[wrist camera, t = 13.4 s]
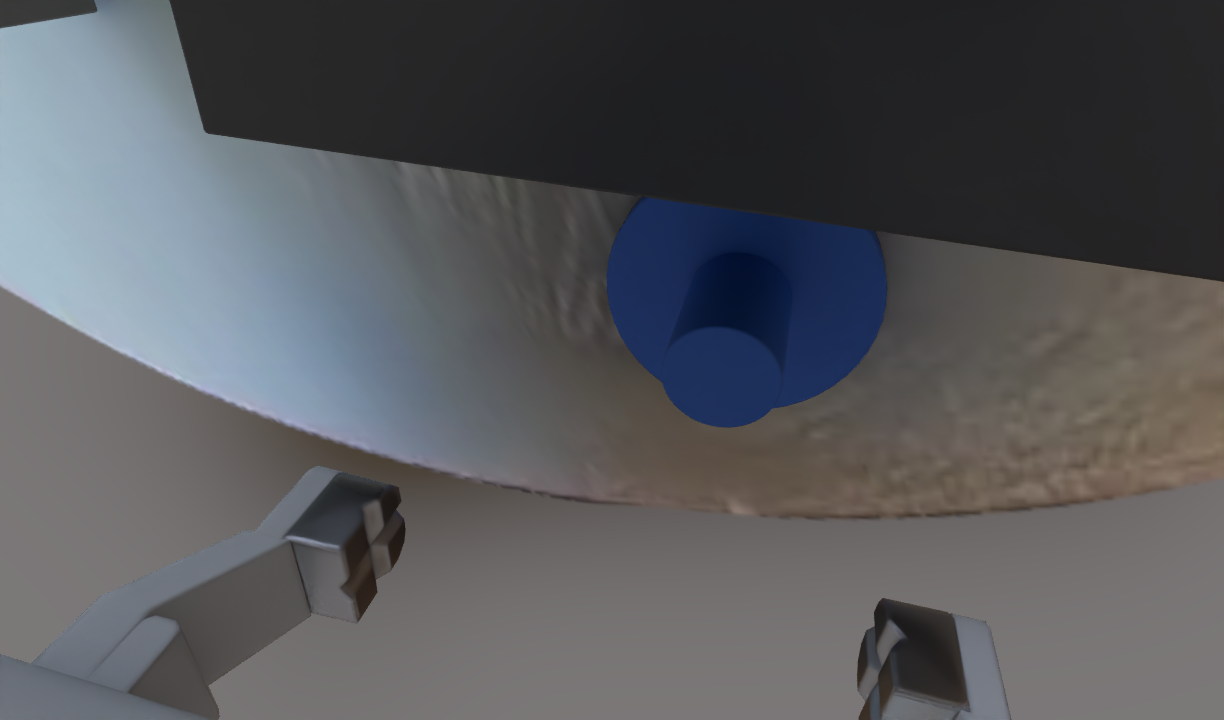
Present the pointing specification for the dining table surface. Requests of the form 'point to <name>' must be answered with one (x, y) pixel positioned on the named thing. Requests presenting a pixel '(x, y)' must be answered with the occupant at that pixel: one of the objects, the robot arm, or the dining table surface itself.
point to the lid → (743, 305)
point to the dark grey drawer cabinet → (768, 107)
